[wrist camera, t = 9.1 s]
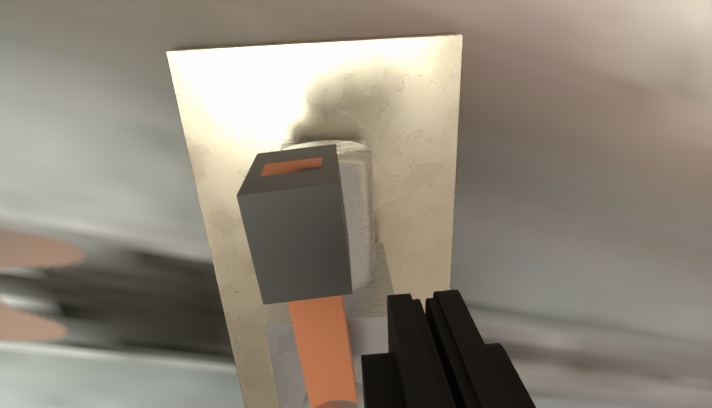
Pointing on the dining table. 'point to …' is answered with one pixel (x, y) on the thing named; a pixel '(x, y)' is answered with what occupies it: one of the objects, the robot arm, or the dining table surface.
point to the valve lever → (305, 262)
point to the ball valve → (357, 171)
